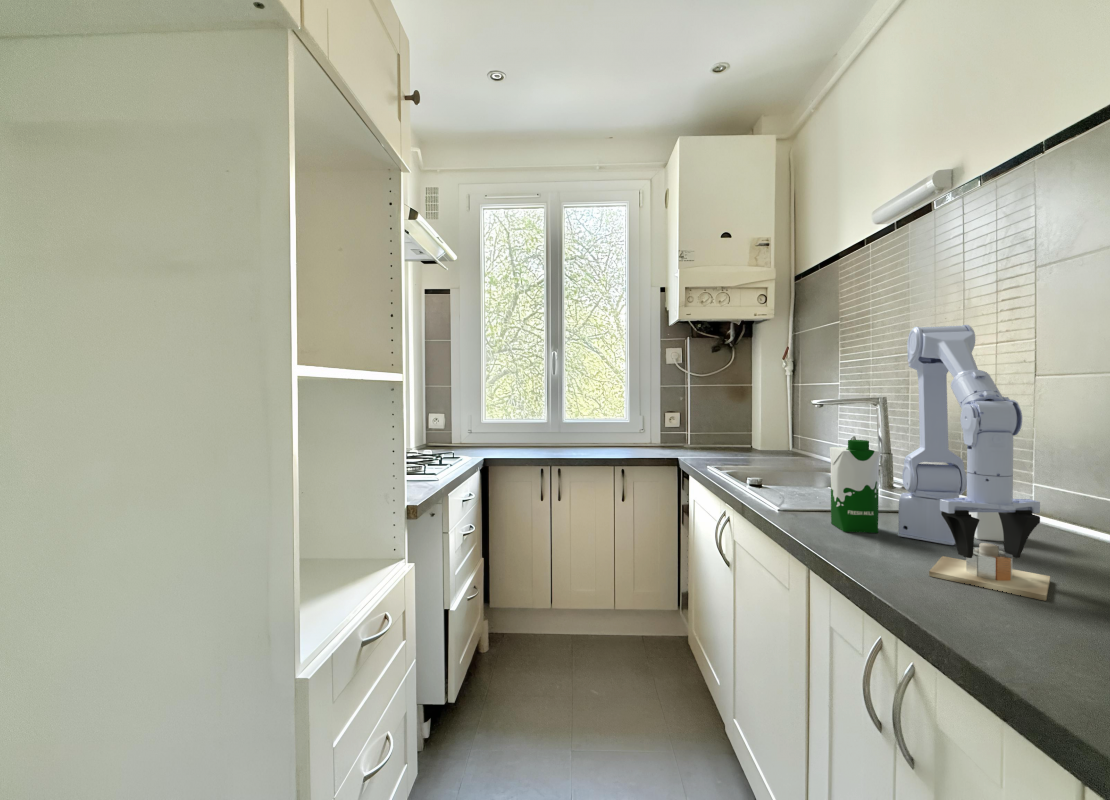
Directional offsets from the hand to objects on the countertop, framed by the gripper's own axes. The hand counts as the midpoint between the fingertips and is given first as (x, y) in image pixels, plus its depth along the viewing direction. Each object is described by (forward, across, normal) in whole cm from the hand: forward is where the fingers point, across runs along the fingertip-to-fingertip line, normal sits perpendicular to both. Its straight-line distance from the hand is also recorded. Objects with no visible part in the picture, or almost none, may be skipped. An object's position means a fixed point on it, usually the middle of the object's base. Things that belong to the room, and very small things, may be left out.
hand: (988, 556), depth 83 cm
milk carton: (+4, -5, +30) cm, 31 cm away
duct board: (+4, 0, 0) cm, 4 cm away
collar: (+3, 0, 0) cm, 3 cm away
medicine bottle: (+4, +20, +24) cm, 31 cm away
